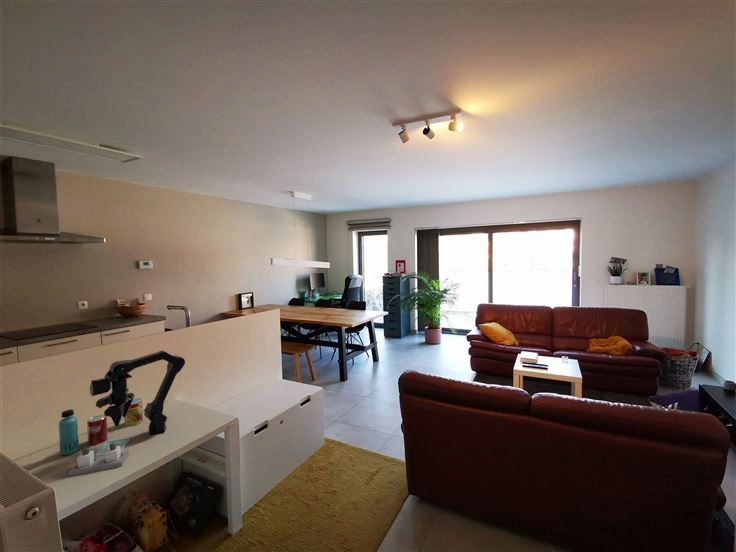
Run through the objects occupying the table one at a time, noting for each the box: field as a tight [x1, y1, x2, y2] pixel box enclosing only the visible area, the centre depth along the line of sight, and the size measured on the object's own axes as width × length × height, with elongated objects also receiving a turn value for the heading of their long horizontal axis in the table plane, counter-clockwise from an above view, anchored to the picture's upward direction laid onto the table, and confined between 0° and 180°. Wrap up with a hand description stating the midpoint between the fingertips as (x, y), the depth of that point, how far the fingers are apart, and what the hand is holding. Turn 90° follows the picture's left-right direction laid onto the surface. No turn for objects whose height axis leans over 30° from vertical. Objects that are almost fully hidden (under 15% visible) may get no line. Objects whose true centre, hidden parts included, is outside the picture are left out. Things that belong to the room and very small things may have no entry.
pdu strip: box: [68, 451, 129, 477], centre depth 136 cm, size 18×8×3 cm, turn 110°
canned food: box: [123, 397, 144, 428], centre depth 173 cm, size 8×8×12 cm
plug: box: [105, 442, 121, 463], centre depth 138 cm, size 4×4×8 cm
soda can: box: [86, 414, 109, 446], centre depth 155 cm, size 7×7×12 cm
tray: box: [94, 436, 132, 457], centre depth 150 cm, size 13×10×1 cm
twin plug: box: [76, 446, 95, 468], centre depth 135 cm, size 4×4×8 cm
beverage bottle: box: [58, 409, 80, 456], centre depth 145 cm, size 6×7×20 cm
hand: (120, 421), depth 151 cm, fingers open, 9 cm apart
